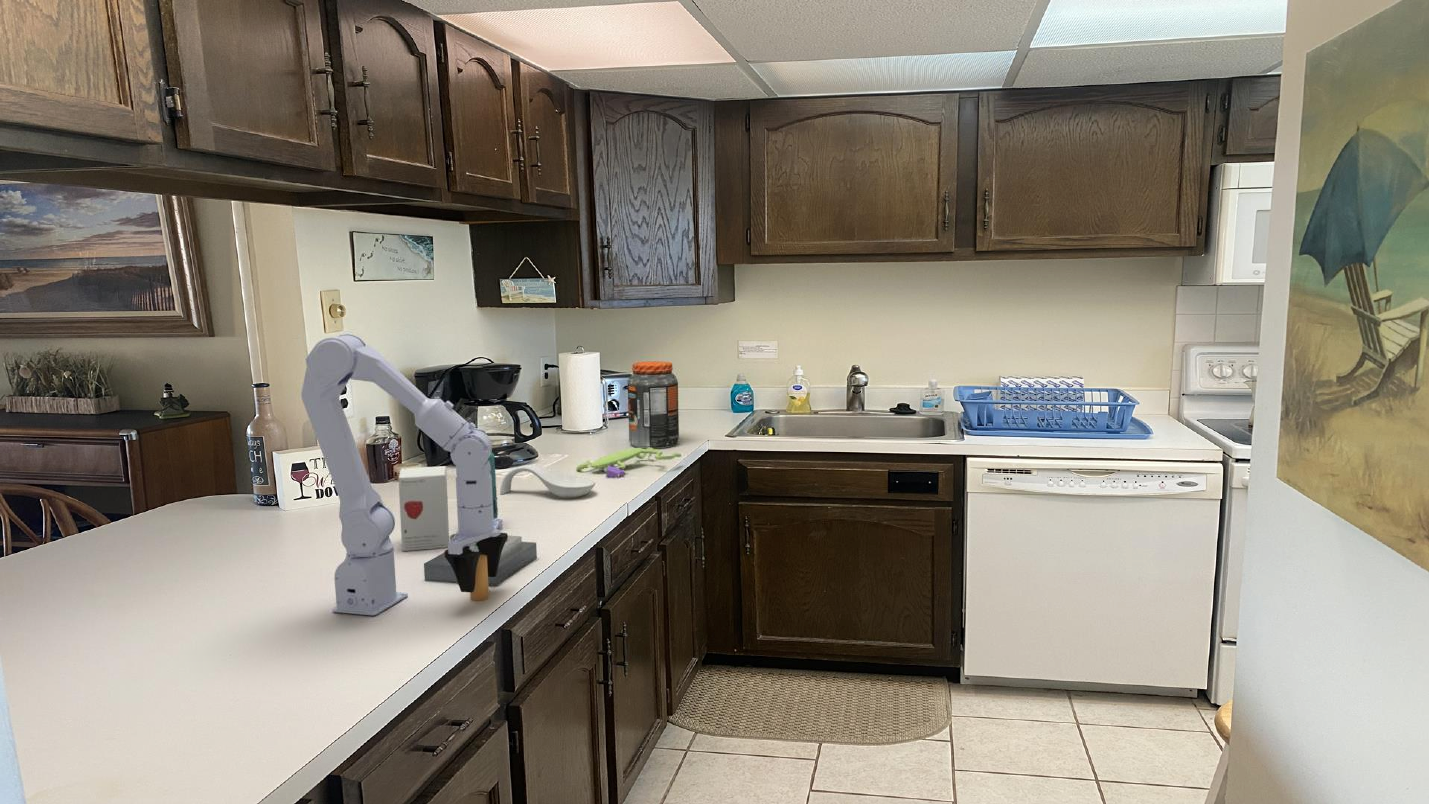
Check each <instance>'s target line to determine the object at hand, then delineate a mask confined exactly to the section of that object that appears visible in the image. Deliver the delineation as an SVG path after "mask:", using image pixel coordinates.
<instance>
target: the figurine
mask: <svg viewBox="0 0 1429 804" xmlns="http://www.w3.org/2000/svg"><path fill="white" fill-rule="evenodd" d="M647 454H649V455H648V458H647V461H649V460H650V457H651V456H652V454H653V455H654V459H655V460H659V461H662V460H663V461H665V460H673V459H675V458H676V457H677V458H681V457H682V454H681V452H673V453H672V454H670V455H663V451H662V450H659V449H653V448H650V447H649V448H647V449H644V448H638V447H634V448H633V447H632V448H627V449H626V448H625V449H623V450H619V451H616V452H612V453H610V454H607V455H604V456H602V457H599V458H598V459H597V460H596V459H595V461H593V462H592V463H591V461H590V460H588V459H587V460H586V461H584V462H582V463H580V464H579V465H577V467H576V471H578V472H579V471H582V470H583V469H585V468H587V467H588V466H590V468H592V469H598V471H600V472H604V473H606V472H607V473H606V475H605V477H607V478H610V477H618V478H620V477H619V476H623V477H624V475H625V474H624V473H625V470H624V469H625V468H626V467H627V466H626V464H625V462H627V461H629V460H631V459H633V458H635V457H636V458H637V459H641V460H644V458H645V457H646V456H647ZM615 465H617V466H615Z"/></svg>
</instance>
